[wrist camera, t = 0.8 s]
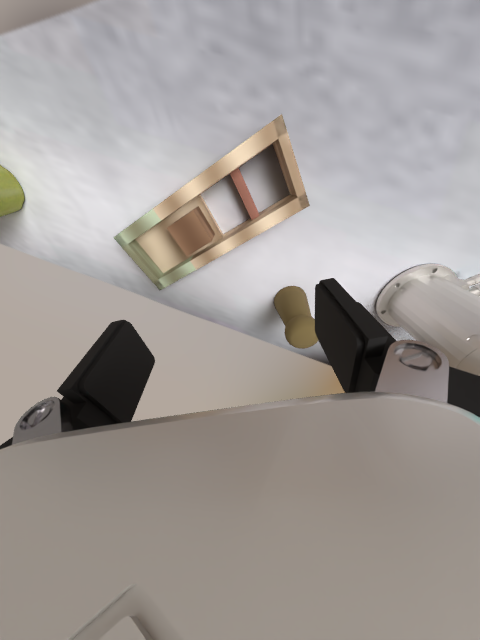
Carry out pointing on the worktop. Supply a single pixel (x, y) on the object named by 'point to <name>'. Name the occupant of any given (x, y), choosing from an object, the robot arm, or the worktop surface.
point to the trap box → (159, 245)
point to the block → (192, 231)
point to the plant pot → (9, 193)
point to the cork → (296, 317)
